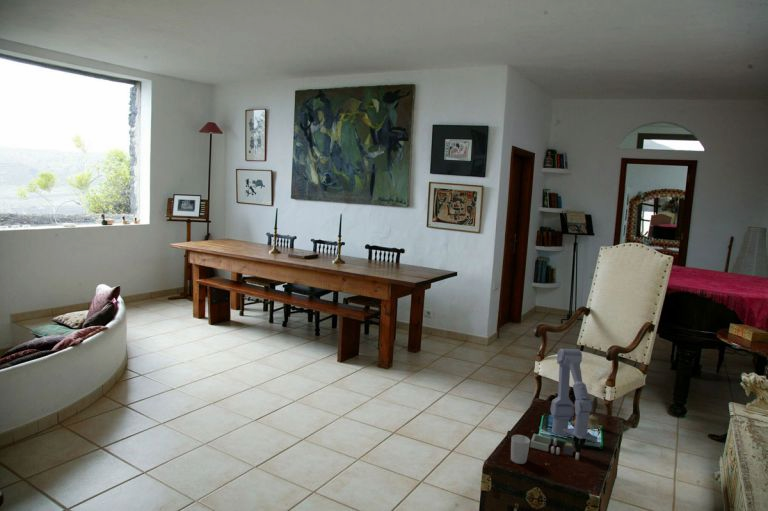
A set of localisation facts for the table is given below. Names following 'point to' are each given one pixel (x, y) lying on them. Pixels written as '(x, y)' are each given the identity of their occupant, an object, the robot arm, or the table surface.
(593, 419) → the hand bell
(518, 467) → the table surface
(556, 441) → the clip
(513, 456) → the white cup
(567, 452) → the connector block
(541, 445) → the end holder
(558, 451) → the clip
